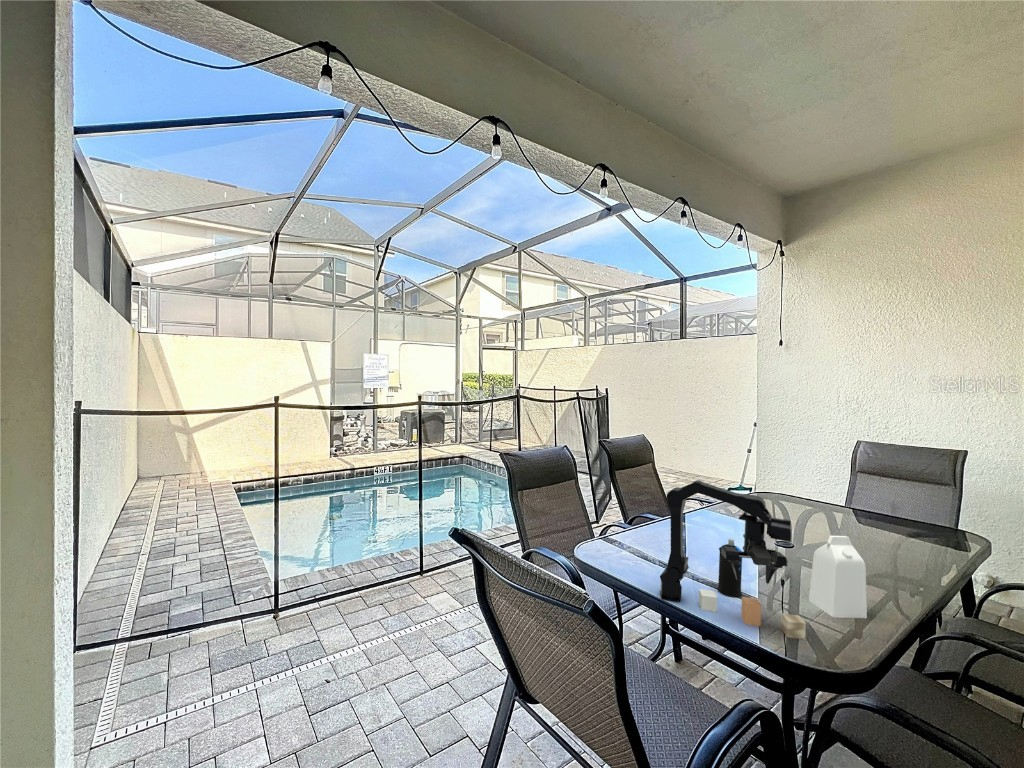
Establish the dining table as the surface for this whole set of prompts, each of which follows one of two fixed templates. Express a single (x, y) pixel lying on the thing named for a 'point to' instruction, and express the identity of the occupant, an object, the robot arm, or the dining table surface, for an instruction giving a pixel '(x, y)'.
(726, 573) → the aerosol can
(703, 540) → the dining table surface
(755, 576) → the dining table surface
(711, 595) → the off-white cube
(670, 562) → the robot arm
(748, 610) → the brown block
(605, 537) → the dining table surface
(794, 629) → the birch cube
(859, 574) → the milk
